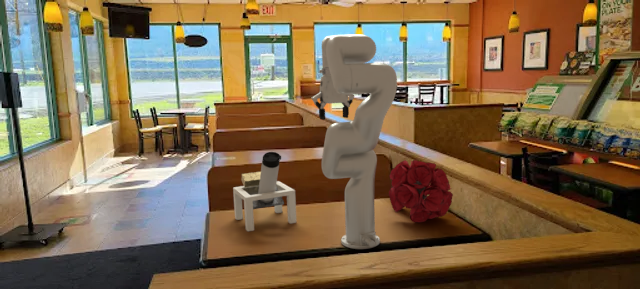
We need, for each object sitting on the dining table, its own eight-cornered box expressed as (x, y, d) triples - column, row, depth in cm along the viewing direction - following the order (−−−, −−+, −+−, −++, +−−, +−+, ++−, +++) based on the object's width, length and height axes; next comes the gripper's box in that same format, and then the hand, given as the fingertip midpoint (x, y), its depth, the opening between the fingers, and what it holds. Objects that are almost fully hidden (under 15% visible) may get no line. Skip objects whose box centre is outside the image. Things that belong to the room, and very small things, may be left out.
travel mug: (273, 204, 166) (280, 162, 155) (256, 201, 166) (261, 158, 155) (276, 193, 172) (282, 152, 161) (259, 190, 171) (264, 148, 160)
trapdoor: (284, 204, 169) (285, 195, 166) (251, 209, 163) (252, 200, 161) (271, 178, 180) (272, 170, 178) (239, 183, 175) (240, 174, 172)
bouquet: (377, 232, 172) (413, 214, 146) (366, 175, 181) (400, 147, 154) (425, 228, 179) (468, 210, 153) (413, 173, 188) (452, 146, 161)
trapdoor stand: (296, 222, 167) (295, 190, 165) (247, 231, 159) (245, 197, 157) (280, 210, 183) (278, 181, 181) (235, 218, 175) (233, 187, 173)
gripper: (315, 72, 157) (317, 120, 160) (358, 71, 165) (359, 117, 167) (307, 73, 164) (309, 119, 167) (348, 72, 171) (349, 116, 174)
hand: (334, 118), depth 167 cm, fingers open, 9 cm apart
